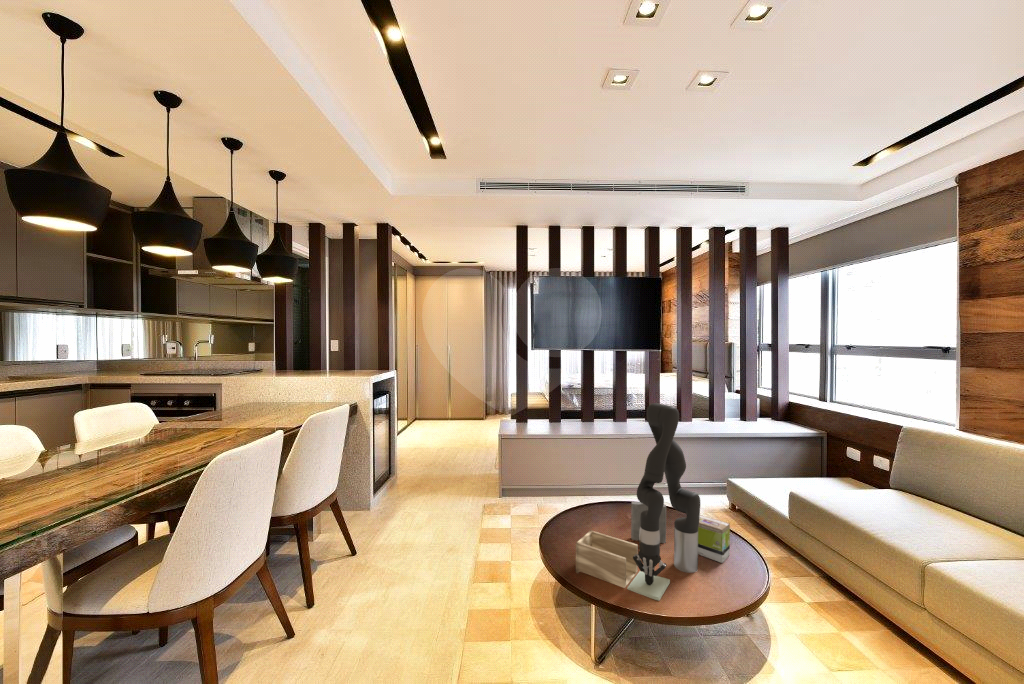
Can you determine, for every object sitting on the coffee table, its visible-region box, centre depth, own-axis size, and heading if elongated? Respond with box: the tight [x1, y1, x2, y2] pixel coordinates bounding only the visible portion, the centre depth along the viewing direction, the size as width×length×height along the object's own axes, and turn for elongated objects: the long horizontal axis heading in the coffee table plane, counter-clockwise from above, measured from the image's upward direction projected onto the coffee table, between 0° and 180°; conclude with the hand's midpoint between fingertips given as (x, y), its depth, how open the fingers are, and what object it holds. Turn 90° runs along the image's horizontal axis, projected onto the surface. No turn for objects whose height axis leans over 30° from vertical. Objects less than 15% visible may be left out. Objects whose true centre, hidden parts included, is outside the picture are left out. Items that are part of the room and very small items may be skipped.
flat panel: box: [626, 570, 671, 601], centre depth 161 cm, size 14×1×12 cm
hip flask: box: [630, 501, 667, 544], centre depth 200 cm, size 16×4×20 cm, turn 78°
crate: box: [575, 529, 639, 589], centre depth 171 cm, size 14×21×12 cm, turn 54°
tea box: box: [698, 514, 731, 564], centre depth 187 cm, size 15×10×15 cm, turn 44°
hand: (649, 583), depth 160 cm, fingers closed
